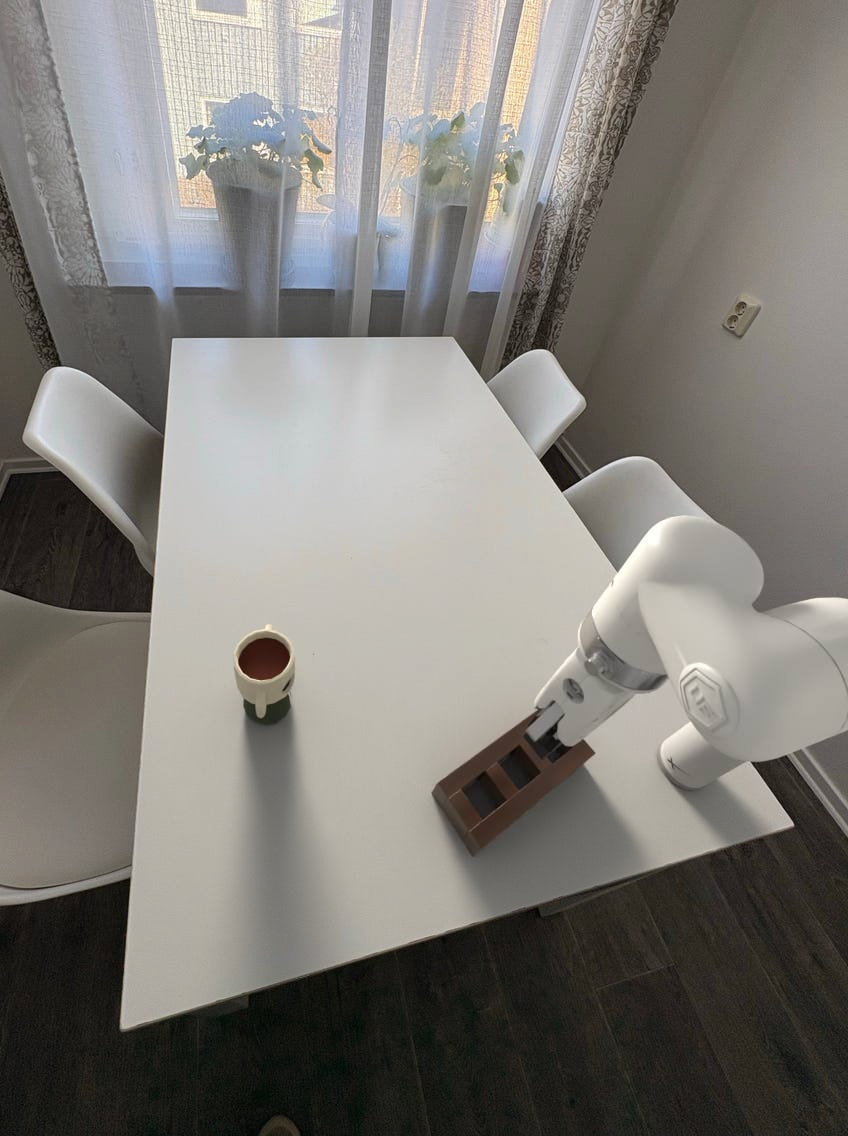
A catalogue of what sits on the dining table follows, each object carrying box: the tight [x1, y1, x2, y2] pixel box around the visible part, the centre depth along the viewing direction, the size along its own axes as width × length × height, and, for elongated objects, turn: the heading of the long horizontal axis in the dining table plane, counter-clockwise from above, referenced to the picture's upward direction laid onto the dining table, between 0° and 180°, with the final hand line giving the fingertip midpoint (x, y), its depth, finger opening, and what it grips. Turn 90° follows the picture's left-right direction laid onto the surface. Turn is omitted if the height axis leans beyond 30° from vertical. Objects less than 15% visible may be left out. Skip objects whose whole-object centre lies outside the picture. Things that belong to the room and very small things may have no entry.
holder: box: [431, 708, 596, 857], centre depth 66 cm, size 8×19×4 cm, turn 123°
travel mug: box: [656, 720, 748, 791], centre depth 63 cm, size 6×7×20 cm
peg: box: [523, 721, 562, 760], centre depth 56 cm, size 3×3×9 cm
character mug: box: [232, 623, 296, 725], centre depth 66 cm, size 11×7×13 cm, turn 2°
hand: (552, 728), depth 56 cm, fingers closed on peg, 3 cm apart
